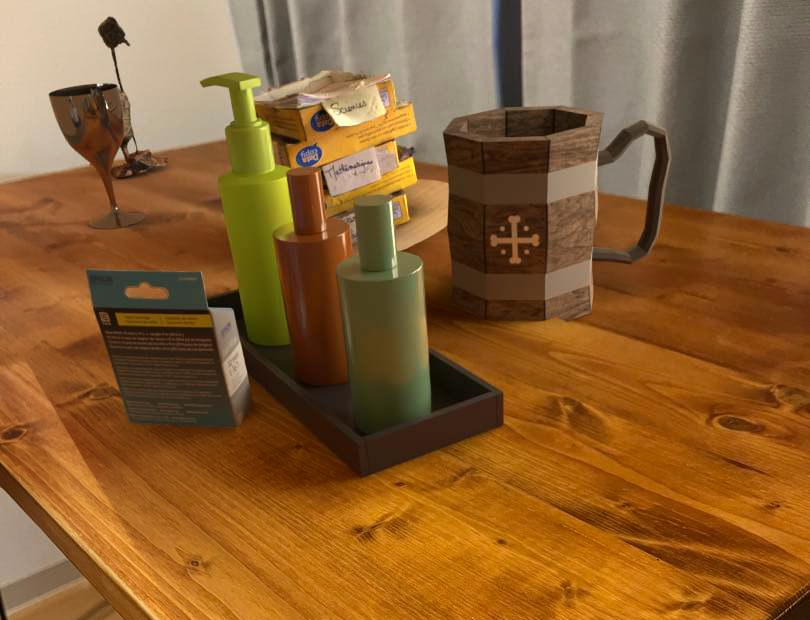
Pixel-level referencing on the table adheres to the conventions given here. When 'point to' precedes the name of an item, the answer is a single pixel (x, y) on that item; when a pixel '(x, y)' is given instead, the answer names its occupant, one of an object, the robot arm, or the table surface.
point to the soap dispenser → (254, 211)
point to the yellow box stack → (354, 148)
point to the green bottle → (383, 323)
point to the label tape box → (171, 349)
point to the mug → (535, 209)
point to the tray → (333, 415)
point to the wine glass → (95, 137)
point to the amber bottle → (312, 280)
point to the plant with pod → (126, 110)
